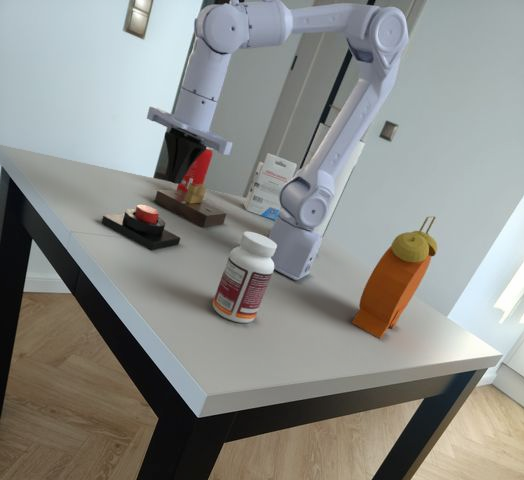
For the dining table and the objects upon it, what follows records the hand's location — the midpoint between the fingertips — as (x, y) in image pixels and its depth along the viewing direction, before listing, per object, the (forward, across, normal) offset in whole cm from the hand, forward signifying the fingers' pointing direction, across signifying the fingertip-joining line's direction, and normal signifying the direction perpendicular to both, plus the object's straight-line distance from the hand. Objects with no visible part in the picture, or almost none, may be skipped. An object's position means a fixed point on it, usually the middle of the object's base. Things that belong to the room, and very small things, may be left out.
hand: (174, 181), depth 83 cm
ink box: (+10, -2, +50) cm, 51 cm away
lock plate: (+9, -6, +20) cm, 23 cm away
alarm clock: (+10, +39, +11) cm, 41 cm away
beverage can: (+10, -13, +30) cm, 34 cm away
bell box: (+9, -1, -4) cm, 10 cm away
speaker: (+10, +14, +36) cm, 39 cm away
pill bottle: (+10, +22, -14) cm, 28 cm away
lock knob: (+7, -6, +20) cm, 22 cm away
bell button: (+7, -1, -4) cm, 8 cm away
